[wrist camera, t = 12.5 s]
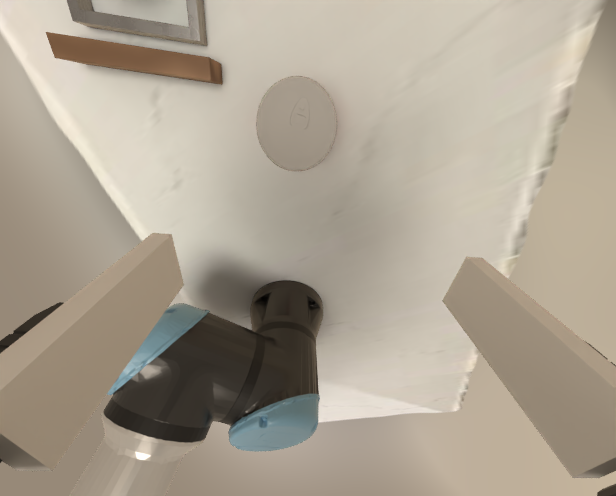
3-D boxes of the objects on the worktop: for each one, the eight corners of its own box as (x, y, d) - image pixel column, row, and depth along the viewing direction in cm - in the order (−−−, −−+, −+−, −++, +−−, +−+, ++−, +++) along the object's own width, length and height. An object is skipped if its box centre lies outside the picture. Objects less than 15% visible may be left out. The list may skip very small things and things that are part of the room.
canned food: (329, 86, 28) (341, 75, 19) (326, 154, 32) (334, 172, 23) (268, 86, 28) (250, 74, 19) (273, 154, 32) (260, 172, 23)
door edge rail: (222, 84, 28) (210, 80, 25) (86, 64, 27) (54, 57, 24) (221, 64, 27) (209, 57, 24) (79, 42, 26) (45, 32, 23)
